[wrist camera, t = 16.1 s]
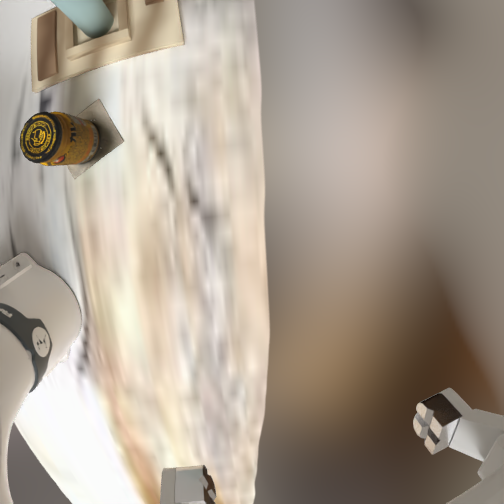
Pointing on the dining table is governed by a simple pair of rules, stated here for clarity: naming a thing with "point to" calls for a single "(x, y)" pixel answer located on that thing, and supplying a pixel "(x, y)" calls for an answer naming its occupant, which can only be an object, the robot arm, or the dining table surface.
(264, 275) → the dining table surface
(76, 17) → the roll-on deodorant
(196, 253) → the dining table surface
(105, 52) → the jig
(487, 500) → the robot arm
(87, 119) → the condiment
